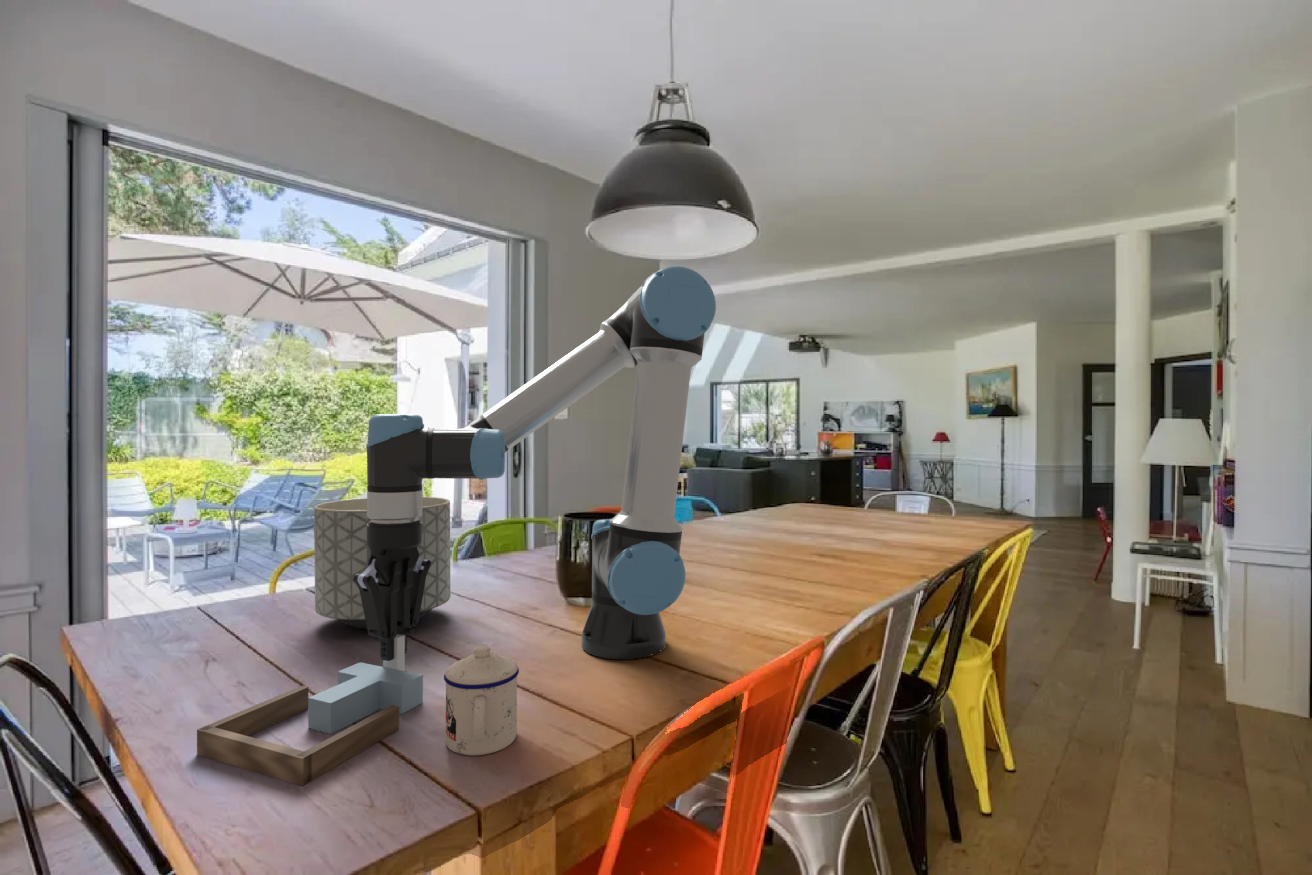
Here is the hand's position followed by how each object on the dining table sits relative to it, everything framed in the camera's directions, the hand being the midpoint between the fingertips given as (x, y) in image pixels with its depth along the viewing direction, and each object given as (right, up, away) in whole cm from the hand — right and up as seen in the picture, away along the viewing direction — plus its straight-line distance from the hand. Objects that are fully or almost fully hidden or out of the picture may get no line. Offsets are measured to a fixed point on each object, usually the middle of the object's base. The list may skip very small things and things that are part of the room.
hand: (393, 679), depth 95 cm
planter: (-16, -2, +35) cm, 38 cm away
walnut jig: (-6, -2, -15) cm, 16 cm away
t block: (-3, -2, -6) cm, 7 cm away
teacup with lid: (+17, -3, -15) cm, 23 cm away
